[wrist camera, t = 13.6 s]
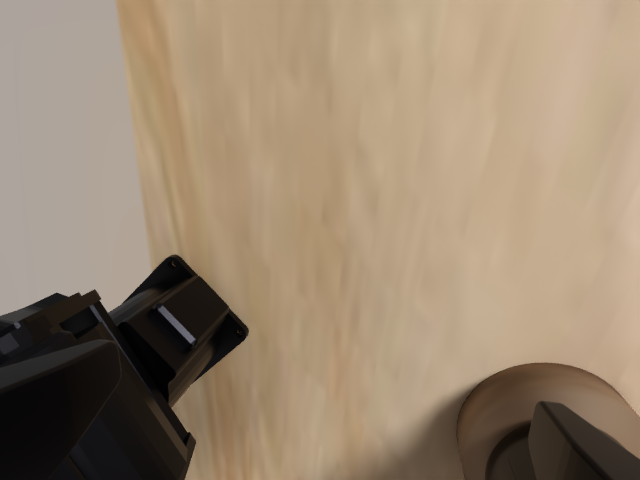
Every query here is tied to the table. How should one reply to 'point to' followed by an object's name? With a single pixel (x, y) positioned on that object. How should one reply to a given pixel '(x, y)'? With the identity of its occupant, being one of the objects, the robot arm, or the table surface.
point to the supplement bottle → (514, 457)
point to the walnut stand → (519, 402)
